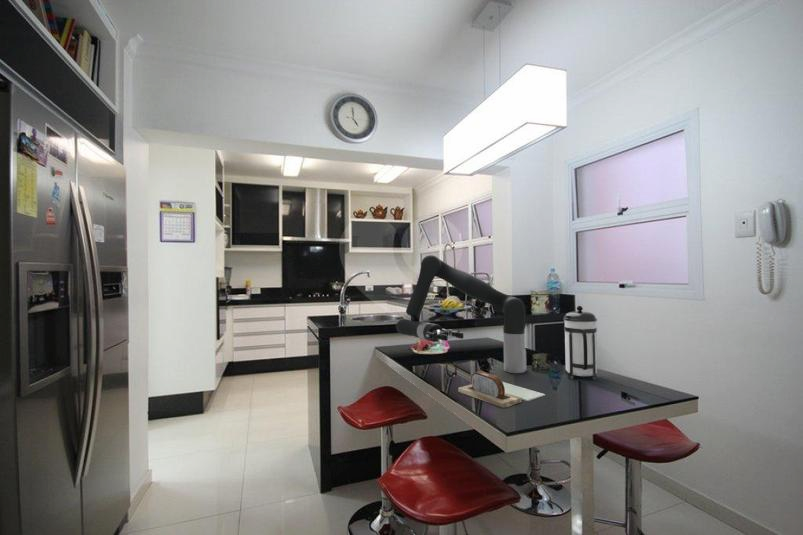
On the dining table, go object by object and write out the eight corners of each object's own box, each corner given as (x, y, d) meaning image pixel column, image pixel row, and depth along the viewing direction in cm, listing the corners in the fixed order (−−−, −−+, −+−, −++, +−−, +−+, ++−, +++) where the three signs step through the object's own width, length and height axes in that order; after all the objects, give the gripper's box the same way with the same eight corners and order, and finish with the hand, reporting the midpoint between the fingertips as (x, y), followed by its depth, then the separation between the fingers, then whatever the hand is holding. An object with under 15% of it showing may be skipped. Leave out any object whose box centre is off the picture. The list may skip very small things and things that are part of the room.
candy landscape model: (405, 347, 228) (405, 332, 228) (440, 344, 235) (440, 330, 235) (419, 355, 204) (419, 339, 204) (458, 352, 211) (458, 336, 211)
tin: (505, 402, 128) (505, 377, 129) (499, 403, 127) (498, 379, 127) (476, 390, 141) (475, 368, 142) (469, 392, 140) (469, 369, 140)
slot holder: (476, 387, 146) (475, 383, 146) (521, 402, 128) (521, 397, 128) (458, 391, 140) (458, 387, 140) (503, 408, 123) (503, 403, 123)
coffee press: (552, 374, 162) (551, 305, 162) (579, 370, 168) (577, 303, 169) (586, 385, 146) (584, 308, 146) (614, 380, 152) (613, 306, 153)
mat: (497, 381, 152) (497, 380, 152) (545, 395, 134) (545, 394, 134) (480, 386, 147) (480, 384, 147) (527, 401, 129) (527, 399, 129)
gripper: (416, 324, 158) (441, 329, 144) (441, 321, 166) (467, 326, 152) (416, 342, 158) (441, 348, 144) (441, 338, 166) (467, 344, 152)
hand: (455, 337), depth 148 cm, fingers open, 8 cm apart
